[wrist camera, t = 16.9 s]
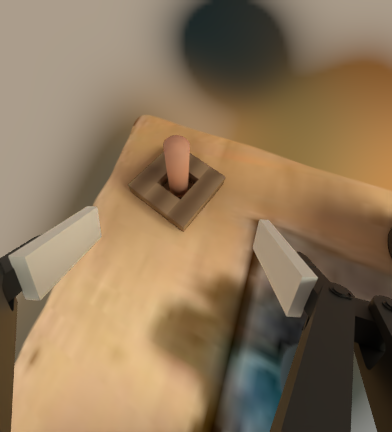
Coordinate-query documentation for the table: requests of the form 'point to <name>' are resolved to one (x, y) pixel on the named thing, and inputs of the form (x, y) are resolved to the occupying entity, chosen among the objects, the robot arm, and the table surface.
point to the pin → (177, 164)
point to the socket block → (167, 202)
